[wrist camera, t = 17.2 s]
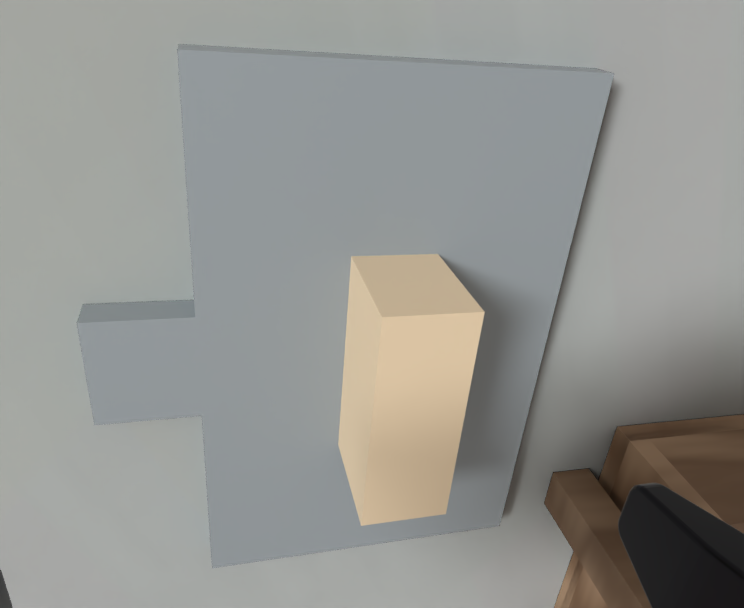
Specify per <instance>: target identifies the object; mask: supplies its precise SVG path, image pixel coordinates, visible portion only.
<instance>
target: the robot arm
mask: <svg viewBox="0 0 744 608" xmlns="http://www.w3.org/2000/svg"><path fill="white" fill-rule="evenodd" d="M618 531H619V535H620V538H621V540H622V542H623V545H624V547H625V549H626V551H627V554H628V556H629V558H630V560H631V563H632V565H633V567H634V569H635V572H636V574H637V576H638V578H639V581H640V583H641V585H642V587H643V590H644V592H645V594H646V596H647V599H648V601H649V603H650V605H651V608H744V533H742V532H741V531H739V530H737V529H736V528H734V527H732V526H731V525H729V524H727V523H726V522H724V521H722V520H721V519H719V518H717V517H716V516H714V515H712V514H711V513H709V512H707V511H706V510H704V509H702V508H701V507H699V506H697V505H696V504H694V503H692V502H691V501H689V500H687V499H686V498H684V497H682V496H681V495H679V494H677V493H675V492H674V491H672V490H670V489H669V488H667V487H665V486H664V485H662V484H659V483H647V484H639V485H635V486H634V487H632V488H631V490H630V491H629V494H628V497H627V499H626V502H625V504H624V507H623V509H622V512H621V515H620V517H619V520H618ZM0 608H12V604H11V600H10V597H9V594H8V591H7V588H6V584H5V581H4V578H3V575H2V572H1V570H0Z"/></svg>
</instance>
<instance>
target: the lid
mask: <svg viewBox="0 0 744 608" xmlns="http://www.w3.org/2000/svg"><path fill="white" fill-rule="evenodd" d="M177 53H178V68H179V83H180V98H181V113H182V128H183V142H184V157H185V172H186V187H187V202H188V217H189V232H190V247H191V262H192V277H193V292H194V300H176V301H152V302H128V303H105V304H83V306H82V309H81V312H80V315H79V318H78V321H77V328H78V334H79V340H80V345H81V351H82V357H83V362H84V368H85V374H86V380H87V385H88V391H89V397H90V403H91V408H92V414H93V420H94V425H102V424H114V423H125V422H136V421H148V420H159V419H171V418H182V417H194V416H202V426H203V441H204V456H205V471H206V486H207V501H208V515H209V530H210V545H211V560H212V568H218V567H224V566H231V565H238V564H245V563H251V562H258V561H265V560H272V559H278V558H285V557H292V556H299V555H306V554H312V553H319V552H326V551H333V550H339V549H346V548H353V547H360V546H367V545H373V544H380V543H387V542H394V541H400V540H407V539H414V538H421V537H427V536H434V535H441V534H448V533H455V532H461V531H468V530H475V529H482V528H488V527H495V526H500V522H501V518H502V514H503V510H504V506H505V502H506V499H507V495H508V491H509V487H510V483H511V479H512V475H513V471H514V467H515V463H516V459H517V455H518V451H519V447H520V443H521V439H522V435H523V431H524V428H525V424H526V420H527V416H528V412H529V408H530V404H531V400H532V396H533V392H534V388H535V384H536V380H537V376H538V372H539V368H540V364H541V361H542V357H543V353H544V349H545V345H546V341H547V337H548V333H549V329H550V325H551V321H552V317H553V313H554V309H555V305H556V301H557V297H558V293H559V290H560V286H561V282H562V278H563V274H564V270H565V266H566V262H567V258H568V254H569V250H570V246H571V242H572V238H573V234H574V230H575V226H576V223H577V219H578V215H579V211H580V207H581V203H582V199H583V195H584V191H585V187H586V183H587V179H588V175H589V171H590V167H591V163H592V159H593V155H594V152H595V148H596V144H597V140H598V136H599V132H600V128H601V124H602V120H603V116H604V112H605V108H606V104H607V100H608V96H609V92H610V88H611V85H612V81H613V77H614V73H611V72H607V71H604V70H600V69H596V68H580V67H563V66H546V65H529V64H512V63H495V62H477V61H460V60H443V59H426V58H409V57H392V56H375V55H358V54H341V53H324V52H307V51H290V50H272V49H255V48H238V47H221V46H204V45H187V44H179V45H178V49H177Z"/></svg>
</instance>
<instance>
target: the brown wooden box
mask: <svg viewBox="0 0 744 608" xmlns="http://www.w3.org/2000/svg"><path fill="white" fill-rule="evenodd" d="M647 483H659V484H662V485H664V486H665V487H667V488H669V489H670V490H672V491H674V492H675V493H677V494H679V495H681V496H682V497H684V498H686V499H687V500H689V501H691V502H692V503H694V504H696V505H697V506H699V507H701V508H702V509H704V510H706V511H707V512H709V513H711V514H712V515H714V516H716V517H717V518H719V519H721V520H722V521H724V522H726V523H727V524H729V525H731V526H732V527H734V528H736V529H737V530H739V531H741V532H742V533H744V414H743V415H733V416H722V417H712V418H702V419H691V420H681V421H671V422H660V423H650V424H640V425H630V426H619V427H617V429H616V431H615V434H614V437H613V440H612V443H611V446H610V449H609V451H608V454H607V457H606V460H605V463H604V466H603V469H602V472H601V474H600V477H599V480H598V481H597V479H596V478H595V477H594V475H593V474H592V472H591V471H590V470H589V469H580V470H571V471H562V472H554V473H553V475H552V478H551V481H550V485H549V488H548V492H547V495H546V498H545V502H544V504H545V505H546V507H547V508H548V510H549V512H550V513H551V515H552V517H553V518H554V520H555V521H556V523H557V525H558V526H559V528H560V530H561V531H562V533H563V534H564V536H565V538H566V539H567V541H568V543H569V544H570V546H571V547H572V549H573V551H574V552H573V555H572V558H571V560H570V563H569V566H568V569H567V572H566V575H565V578H564V580H563V583H562V586H561V589H560V592H559V595H558V598H557V601H556V603H555V606H554V608H651V605H650V603H649V601H648V599H647V596H646V594H645V592H644V590H643V587H642V585H641V583H640V581H639V578H638V576H637V574H636V572H635V569H634V567H633V565H632V563H631V560H630V558H629V556H628V554H627V551H626V549H625V547H624V545H623V542H622V540H621V538H620V535H619V531H618V520H619V517H620V515H621V512H622V509H623V507H624V504H625V502H626V499H627V497H628V494H629V491H630V490H631V488H632V487H634V486H635V485H639V484H647Z"/></svg>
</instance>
